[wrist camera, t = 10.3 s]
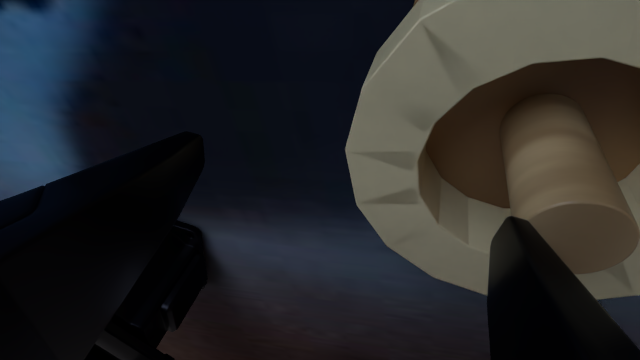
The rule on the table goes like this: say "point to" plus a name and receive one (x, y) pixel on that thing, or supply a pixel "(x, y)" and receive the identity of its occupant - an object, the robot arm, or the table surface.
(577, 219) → the stand
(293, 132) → the table surface
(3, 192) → the table surface
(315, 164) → the table surface
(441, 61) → the tape roll
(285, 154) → the table surface
